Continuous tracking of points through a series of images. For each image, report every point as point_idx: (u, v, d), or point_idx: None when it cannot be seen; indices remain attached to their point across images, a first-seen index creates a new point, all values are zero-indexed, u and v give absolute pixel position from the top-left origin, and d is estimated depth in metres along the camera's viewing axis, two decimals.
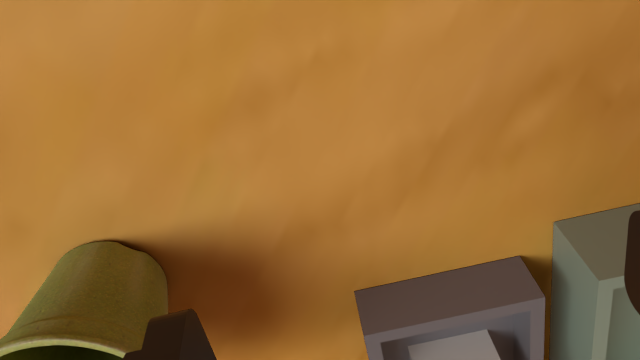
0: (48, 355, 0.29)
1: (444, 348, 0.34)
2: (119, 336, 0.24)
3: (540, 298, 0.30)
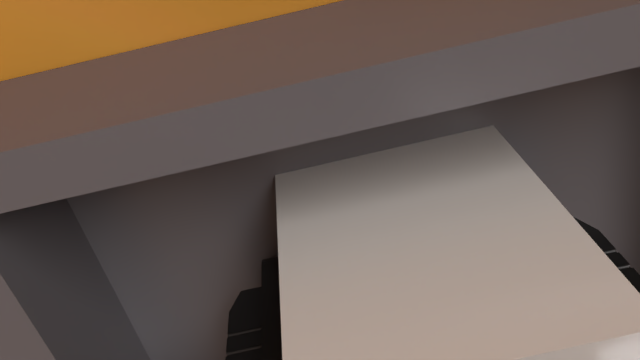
0: None
1: None
2: None
3: None
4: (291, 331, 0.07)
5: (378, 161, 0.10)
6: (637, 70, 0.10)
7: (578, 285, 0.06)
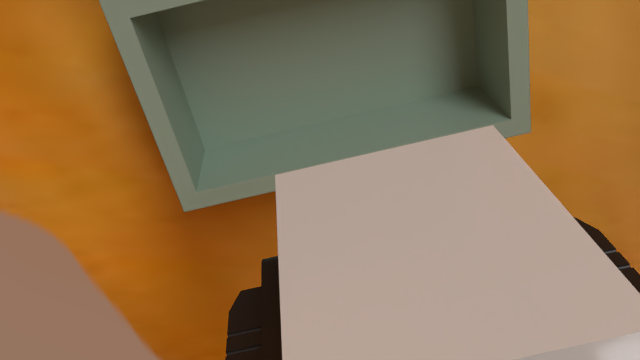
0: None
1: None
2: None
3: None
4: (291, 331, 0.07)
5: (378, 161, 0.10)
6: None
7: (578, 284, 0.06)
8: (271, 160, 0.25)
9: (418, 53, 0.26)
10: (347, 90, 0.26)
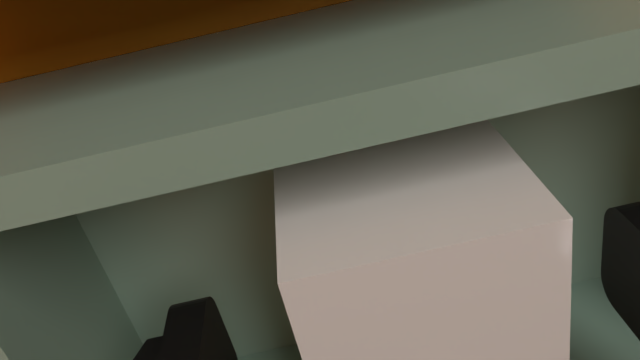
0: None
1: None
2: None
3: None
4: (284, 235, 0.08)
5: None
6: None
7: (510, 195, 0.08)
8: None
9: None
10: None
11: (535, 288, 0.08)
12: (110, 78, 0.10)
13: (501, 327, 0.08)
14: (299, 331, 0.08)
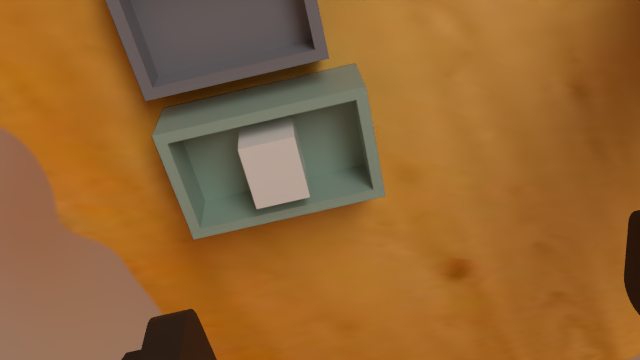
0: None
1: (298, 137, 0.43)
2: None
3: (327, 54, 0.38)
4: (239, 142, 0.39)
5: None
6: None
7: (286, 133, 0.39)
8: (242, 210, 0.44)
9: (327, 148, 0.45)
10: None
11: (290, 152, 0.39)
12: (198, 107, 0.41)
13: (285, 161, 0.39)
14: (242, 161, 0.39)
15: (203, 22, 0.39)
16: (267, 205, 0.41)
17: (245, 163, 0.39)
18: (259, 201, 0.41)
